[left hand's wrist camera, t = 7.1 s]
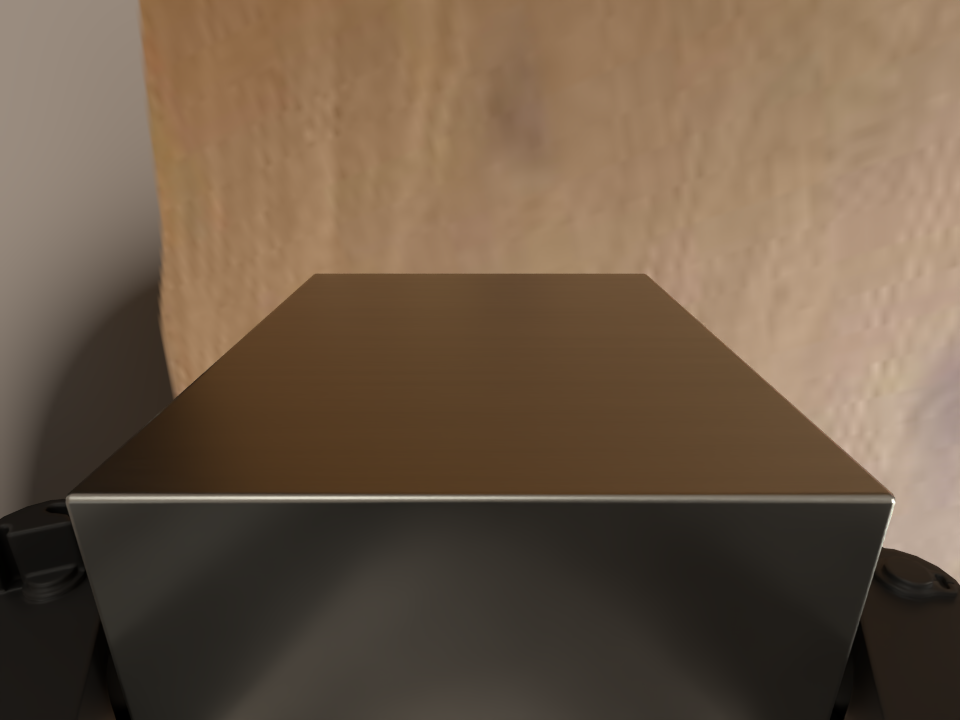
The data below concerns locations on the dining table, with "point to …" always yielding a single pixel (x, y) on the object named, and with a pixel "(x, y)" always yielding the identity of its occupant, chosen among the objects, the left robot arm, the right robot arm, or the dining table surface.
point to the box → (480, 517)
